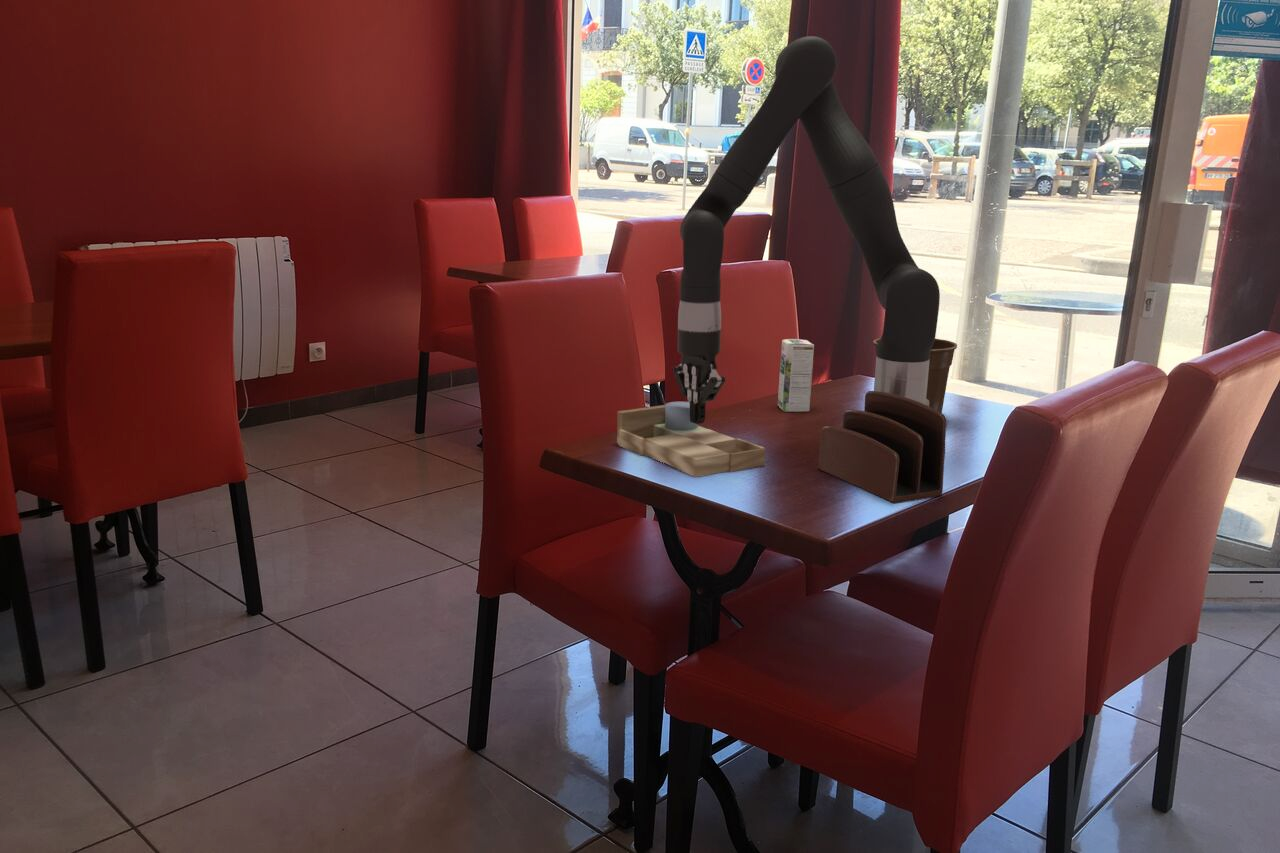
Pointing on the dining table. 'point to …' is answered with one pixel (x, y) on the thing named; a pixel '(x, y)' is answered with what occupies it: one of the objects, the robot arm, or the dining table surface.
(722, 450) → the tray
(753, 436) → the dining table surface
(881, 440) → the letter holder
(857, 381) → the dining table surface
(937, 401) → the plant pot
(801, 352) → the syrup box
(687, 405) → the grey rounded block
